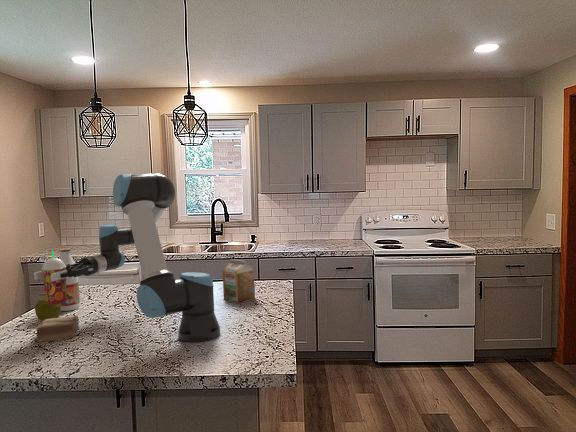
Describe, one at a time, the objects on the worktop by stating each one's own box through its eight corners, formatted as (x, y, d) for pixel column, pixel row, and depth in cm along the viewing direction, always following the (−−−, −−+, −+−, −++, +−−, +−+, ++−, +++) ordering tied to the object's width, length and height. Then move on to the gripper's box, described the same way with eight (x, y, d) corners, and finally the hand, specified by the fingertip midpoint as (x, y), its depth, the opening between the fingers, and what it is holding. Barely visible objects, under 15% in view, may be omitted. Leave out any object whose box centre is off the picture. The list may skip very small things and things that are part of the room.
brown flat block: (73, 337, 167) (72, 324, 166) (37, 342, 163) (36, 328, 163) (78, 327, 178) (77, 315, 178) (45, 331, 175) (44, 318, 174)
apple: (43, 325, 183) (41, 299, 182) (30, 322, 188) (28, 296, 187) (66, 318, 191) (64, 293, 190) (54, 315, 196) (52, 291, 195)
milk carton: (255, 298, 214) (253, 259, 212) (238, 303, 206) (236, 262, 205) (240, 295, 221) (239, 257, 219) (223, 299, 213) (222, 260, 212)
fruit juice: (84, 306, 209) (80, 247, 207) (66, 312, 201) (61, 250, 199) (71, 304, 214) (67, 246, 211) (53, 310, 205) (48, 249, 203)
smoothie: (50, 300, 174) (46, 249, 172) (72, 299, 174) (68, 248, 173) (40, 306, 165) (35, 253, 164) (63, 305, 166) (59, 252, 164)
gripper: (112, 275, 181) (64, 288, 161) (74, 272, 190) (24, 285, 169) (111, 257, 181) (62, 268, 160) (73, 255, 189) (23, 265, 168)
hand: (43, 276), depth 165 cm, fingers closed on smoothie, 8 cm apart
